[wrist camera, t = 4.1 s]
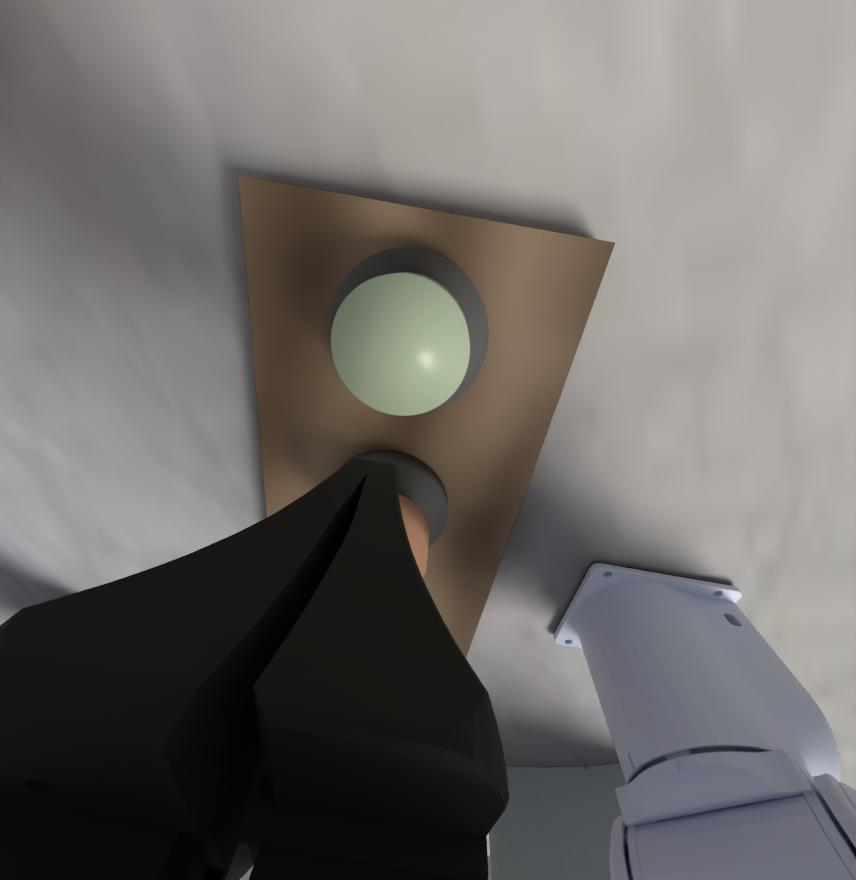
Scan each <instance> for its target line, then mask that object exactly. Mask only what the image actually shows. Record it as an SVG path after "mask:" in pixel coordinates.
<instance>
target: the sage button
mask: <svg viewBox="0 0 856 880" xmlns="http://www.w3.org/2000/svg"><path fill="white" fill-rule="evenodd" d="M331 351H332V357H333V360H334V364H335V367H336V369H337V371H338V374H339V376H340V377H341V379H342V381H343V382H344V384H345V385H346V386H347V388H348V389H349V390H350V391H351V392H352V393H353V394H354V396H356V397H357V398H358V399H359V400H360V401H362V402H363V403H365V404H366V405H368V406H369V407H371V408H373V409H375V410H378V411H381V412H383V413H387V414H391V415H399V416H410V415H417V414H421V413H425V412H427V411H430V410H432V409H434V408H436V407H438V406H440V405H441V404H442V403H444V402H445V401H447V400H448V399H449V398H450V397H451V396H452V395H453V394H454V392H455V391H456V390H457V389H458V387H459V385H460V384H461V382H462V380H463V378H464V376H465V374H466V371H467V367H468V364H469V357H470V340H469V333H468V327H467V322H466V318H465V315H464V313H463V310H462V308H461V306H460V305H459V303H458V301H457V300H456V298H455V297H454V296H453V294H452V293H451V292H450V291H449V290H448V289H447V288H446V287H444V286H443V285H442V284H440V283H439V282H437V281H436V280H434V279H432V278H430V277H427V276H425V275H421V274H417V273H410V272H399V273H393V274H387V275H382V276H378V277H375V278H372V279H369V280H368V281H366V282H364V283H362V284H360V285H359V286H358V287H356V288H355V289H354V290H353V291H352V292H351V293H350V294H349V295H348V296H347V297H346V298H345V300H344V301H343V302H342V304H341V305H340V307H339V309H338V311H337V313H336V316H335V318H334V321H333V326H332V331H331Z"/></svg>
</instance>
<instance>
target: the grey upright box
mask: <svg viewBox="0 0 856 880" xmlns="http://www.w3.org/2000/svg"><path fill="white" fill-rule="evenodd" d="M506 771H507V777H508V790H509V801H508V803H507V806H506V809H505V811H504V812H503V814H502V815H501V816H500V818H499V819H498V821H497V822H496V823H495V825H494V826H493V827H492V829H491V830H490V832H489V842H490V859H491V877H492V880H611V874H610V862H609V852H610V844H611V843H610V840H611V830H612V826H613V822H614V821H615V819H616V818H617V817H618V816H620V815H622V812H621V808H620V805H619V802H618V798H617V795H616V792H615V789H616V788H618V787H622V786H624V785H627V783H626V780H625V777H624V774H623V771H622V768H621V765H620V763H617V764H607V765H594V766H575V767H521V766H506Z"/></svg>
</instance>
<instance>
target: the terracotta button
mask: <svg viewBox="0 0 856 880" xmlns="http://www.w3.org/2000/svg"><path fill="white" fill-rule="evenodd" d="M399 501H400V507H401V512H402V517H403V521H404V525H405V529H406V533H407V536H408V540H409V543H410V546H411V549H412V552H413V555H414V557H415V560H416V563H417V565H418V568H419V570H420V573H421V575H422V577H424V575H425V572H426V566H427V557H428V547H429V537H430V527H429V523H428V520H427V518H426V516H425V514H424V513H423V511H422V510H421V509H420V508H419V507H418V506H417V505H416V504H415V503H414V502H413V501H411V500H410V499H408V498H406V497H405V496H403V495H400V494H399Z"/></svg>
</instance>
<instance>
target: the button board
mask: <svg viewBox="0 0 856 880" xmlns="http://www.w3.org/2000/svg"><path fill="white" fill-rule="evenodd" d="M238 181H239V193H240V205H241V217H242V229H243V241H244V253H245V265H246V277H247V289H248V301H249V313H250V325H251V337H252V349H253V361H254V373H255V385H256V397H257V409H258V421H259V433H260V445H261V457H262V469H263V481H264V493H265V505H266V517H269V516H271V515H272V514H274V513H276V512H277V511H279V510H281V509H282V508H284V507H285V506H287V505H289V504H290V503H292V502H293V501H295V500H296V499H298V498H300V497H301V496H303V495H304V494H306V493H307V492H309V491H310V490H311V489H313V488H314V487H316V486H317V485H318V484H320V483H321V482H323V481H324V480H325V479H327V478H328V477H329V476H331V475H332V474H333V473H335V472H336V471H337V470H339V469H340V468H341V467H342V466H344V465H345V464H346V463H348V462H349V461H350V460H352V459H353V458H361V459H366V460H371V461H377V462H382V463H387V464H393V465H397V467H398V468H399V475H398V494H400V495H403V496H405V497H406V498H408V499H410V500H411V501H413V502H414V503H415V504H416V505H417V506H418V507H419V508H420V509H421V510H422V511H423V513H424V514H425V516H426V518H427V520H428V523H429V527H430V537H429V547H428V557H427V566H426V572H425V575H424V577H423V580H424V582H425V584H426V587H427V589H428V591H429V593H430V595H431V597H432V599H433V601H434V603H435V605H436V607H437V609H438V611H439V613H440V615H441V617H442V619H443V621H444V622H445V624H446V626H447V628H448V629H449V631H450V633H451V635H452V636H453V638H454V640H455V642H456V643H457V645H458V647H459V648H460V650H461V652H462V653H463V655H464V656H465V658H466V656H467V653H468V651H469V648H470V645H471V642H472V639H473V637H474V634H475V631H476V628H477V626H478V623H479V620H480V617H481V614H482V612H483V609H484V606H485V603H486V600H487V598H488V595H489V592H490V589H491V587H492V584H493V581H494V578H495V575H496V573H497V570H498V567H499V564H500V562H501V559H502V556H503V553H504V550H505V548H506V545H507V542H508V539H509V537H510V534H511V531H512V528H513V525H514V523H515V520H516V517H517V514H518V512H519V509H520V506H521V503H522V500H523V498H524V495H525V492H526V489H527V486H528V484H529V481H530V478H531V475H532V473H533V470H534V467H535V464H536V461H537V459H538V456H539V453H540V450H541V448H542V445H543V442H544V439H545V436H546V434H547V431H548V428H549V425H550V423H551V420H552V417H553V414H554V411H555V409H556V406H557V403H558V400H559V398H560V395H561V392H562V389H563V386H564V384H565V381H566V378H567V375H568V372H569V370H570V367H571V364H572V361H573V359H574V356H575V353H576V350H577V347H578V345H579V342H580V339H581V336H582V334H583V331H584V328H585V325H586V322H587V320H588V317H589V314H590V311H591V309H592V306H593V303H594V300H595V297H596V295H597V292H598V289H599V286H600V284H601V281H602V278H603V275H604V272H605V270H606V267H607V264H608V261H609V258H610V256H611V253H612V250H613V247H614V245H615V243H613V242H608V241H602V240H597V239H591V238H586V237H580V236H574V235H569V234H563V233H558V232H552V231H547V230H541V229H535V228H530V227H524V226H519V225H513V224H508V223H502V222H496V221H491V220H485V219H480V218H474V217H469V216H463V215H457V214H452V213H446V212H441V211H435V210H429V209H424V208H418V207H413V206H407V205H402V204H396V203H390V202H385V201H379V200H374V199H368V198H363V197H357V196H351V195H346V194H340V193H335V192H329V191H324V190H318V189H312V188H307V187H301V186H296V185H290V184H285V183H279V182H273V181H268V180H262V179H257V178H251V177H246V176H240V175H238ZM399 272H410V273H417V274H421V275H425V276H427V277H430V278H432V279H434V280H436V281H437V282H439V283H440V284H442V285H443V286H444V287H446V288H447V289H448V290H449V291H450V292H451V293H452V294H453V296H454V297H455V298H456V300H457V301H458V303H459V305H460V306H461V308H462V310H463V313H464V315H465V318H466V322H467V327H468V333H469V340H470V357H469V364H468V367H467V371H466V374H465V376H464V378H463V380H462V382H461V384H460V385H459V387H458V389H457V390H456V391H455V392H454V394H453V395H452V396H451V397H450V398H449V399H448V400H447V401H445V402H444V403H442V404H441V405H440V406H438V407H436V408H434V409H432V410H430V411H427V412H425V413H421V414H417V415H410V416H399V415H391V414H387V413H383V412H381V411H378V410H375V409H373V408H371V407H369V406H368V405H366V404H365V403H363V402H362V401H360V400H359V399H358V398H357V397H356V396H354V394H353V393H352V392H351V391H350V390H349V389H348V388H347V386H346V385H345V384H344V382H343V381H342V379H341V377H340V376H339V374H338V371H337V369H336V367H335V364H334V360H333V357H332V351H331V331H332V326H333V321H334V318H335V316H336V313H337V311H338V309H339V307H340V305H341V304H342V302H343V301H344V300H345V298H346V297H347V296H348V295H349V294H350V293H351V292H352V291H353V290H354V289H355V288H356V287H358V286H359V285H360V284H362V283H364V282H366V281H368V280H369V279H372V278H375V277H378V276H382V275H387V274H393V273H399Z"/></svg>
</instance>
